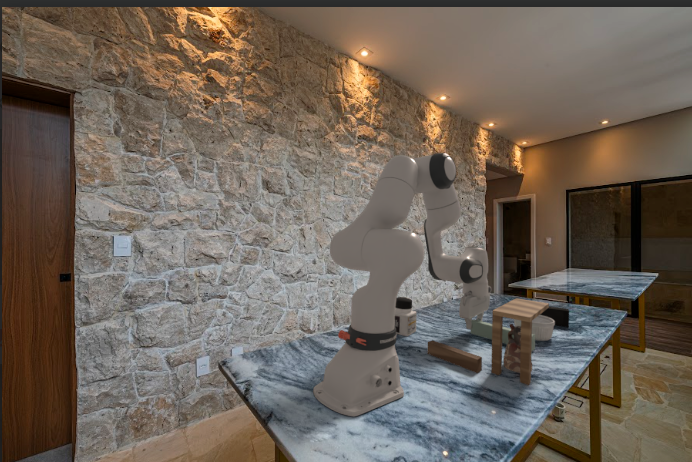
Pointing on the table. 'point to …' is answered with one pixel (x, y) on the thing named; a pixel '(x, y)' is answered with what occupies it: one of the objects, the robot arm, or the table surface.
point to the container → (404, 316)
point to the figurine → (513, 350)
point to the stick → (455, 356)
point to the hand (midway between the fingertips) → (474, 325)
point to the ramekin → (540, 327)
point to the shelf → (526, 314)
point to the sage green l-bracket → (486, 332)
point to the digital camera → (557, 315)
